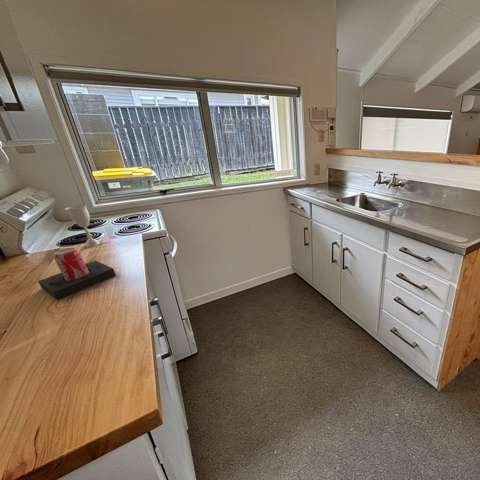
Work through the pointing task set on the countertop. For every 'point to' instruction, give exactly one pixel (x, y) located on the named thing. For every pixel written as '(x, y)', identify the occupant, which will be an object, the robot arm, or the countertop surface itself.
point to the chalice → (82, 221)
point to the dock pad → (76, 280)
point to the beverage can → (71, 263)
